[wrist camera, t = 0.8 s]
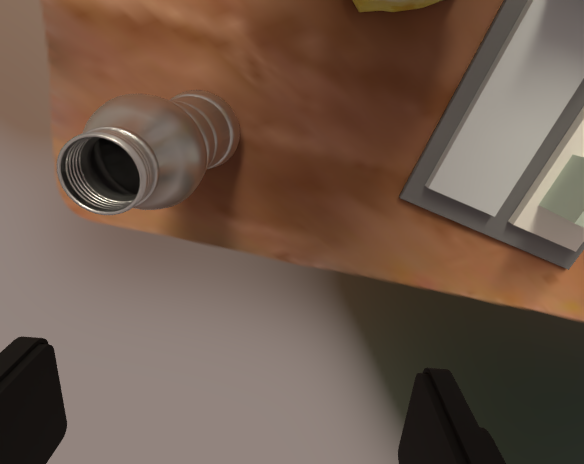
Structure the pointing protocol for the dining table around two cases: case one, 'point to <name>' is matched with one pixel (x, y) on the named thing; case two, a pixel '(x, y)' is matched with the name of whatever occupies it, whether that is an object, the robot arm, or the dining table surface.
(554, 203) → the block
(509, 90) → the empty strip
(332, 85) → the dining table surface
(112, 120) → the metal water bottle
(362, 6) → the chocolate bunny
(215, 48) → the dining table surface
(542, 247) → the mat
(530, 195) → the block strip
